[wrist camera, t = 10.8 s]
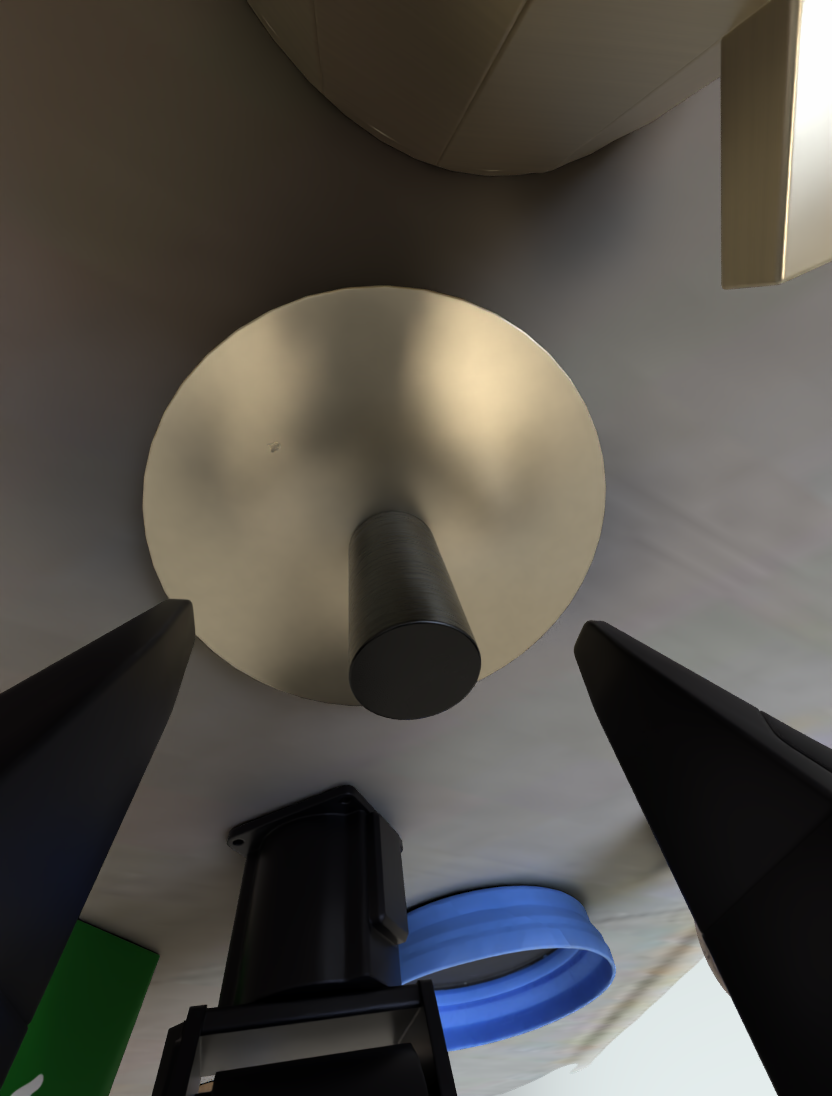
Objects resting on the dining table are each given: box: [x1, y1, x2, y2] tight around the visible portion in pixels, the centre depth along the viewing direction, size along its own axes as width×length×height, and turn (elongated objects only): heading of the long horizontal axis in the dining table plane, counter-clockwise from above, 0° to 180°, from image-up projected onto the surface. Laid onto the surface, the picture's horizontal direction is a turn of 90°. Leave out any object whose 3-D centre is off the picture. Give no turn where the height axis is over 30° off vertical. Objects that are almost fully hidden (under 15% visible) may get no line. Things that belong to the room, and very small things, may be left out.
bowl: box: [399, 886, 616, 1051], centre depth 28 cm, size 18×18×4 cm
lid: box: [142, 285, 606, 720], centre depth 11 cm, size 13×13×6 cm
